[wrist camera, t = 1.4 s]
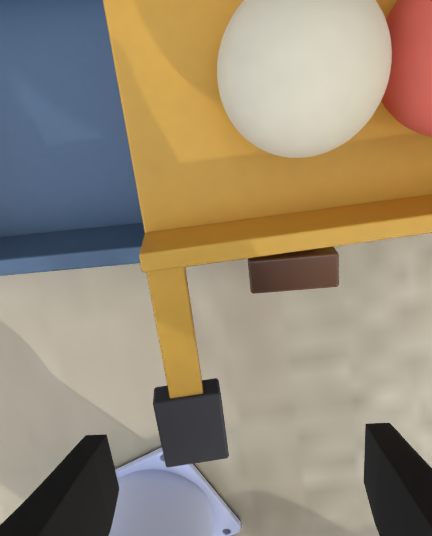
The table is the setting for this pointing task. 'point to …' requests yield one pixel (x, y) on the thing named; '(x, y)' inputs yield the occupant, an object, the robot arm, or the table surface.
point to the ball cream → (303, 72)
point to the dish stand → (294, 270)
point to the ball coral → (411, 65)
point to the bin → (63, 142)
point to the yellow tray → (235, 191)
